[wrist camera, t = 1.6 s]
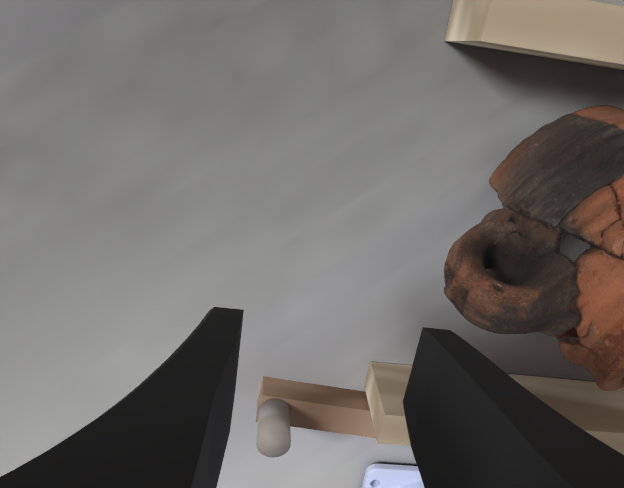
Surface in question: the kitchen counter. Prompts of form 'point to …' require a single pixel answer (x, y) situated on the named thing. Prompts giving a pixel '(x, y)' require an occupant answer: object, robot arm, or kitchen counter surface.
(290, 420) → the crank handle
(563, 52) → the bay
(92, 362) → the kitchen counter surface
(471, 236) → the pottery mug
